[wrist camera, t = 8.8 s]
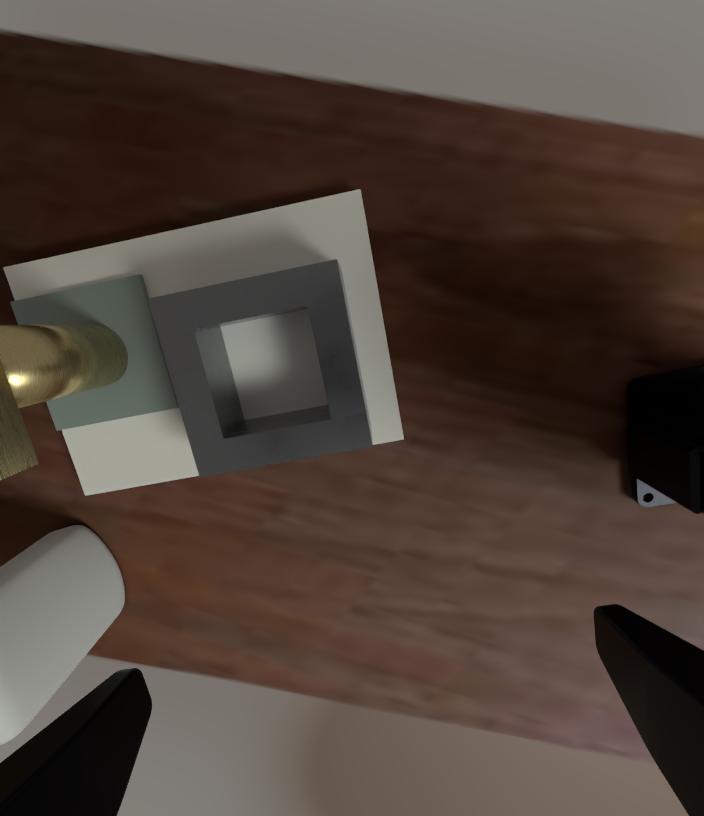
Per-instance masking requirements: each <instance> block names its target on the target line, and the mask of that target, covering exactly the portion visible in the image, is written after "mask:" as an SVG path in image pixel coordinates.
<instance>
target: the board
mask: <svg viewBox="0 0 704 816" xmlns="http://www.w3.org/2000/svg"><path fill="white" fill-rule="evenodd" d="M335 259H337V260H338V263H339V265H340V267H341V270H342V275H343V280H344V286H345V291H346V296H347V302H348V307H349V312H350V317H351V323H352V328H353V333H354V338H355V344H356V349H357V354H358V359H359V365H360V370H361V375H362V380H363V386H364V391H365V396H366V401H367V407H368V412H369V417H370V422H371V429H372V443H373V445H375V444H381V443H386V442H392V441H398V440H403V439H404V437H403V431H402V425H401V419H400V413H399V408H398V402H397V396H396V390H395V385H394V379H393V373H392V367H391V362H390V356H389V350H388V344H387V339H386V333H385V327H384V321H383V316H382V310H381V304H380V298H379V292H378V287H377V281H376V275H375V269H374V264H373V258H372V252H371V246H370V241H369V235H368V229H367V223H366V218H365V212H364V206H363V200H362V195H361V189H358V190H354V191H349V192H345V193H340V194H336V195H331V196H326V197H322V198H317V199H313V200H308V201H304V202H299V203H295V204H290V205H285V206H281V207H276V208H272V209H267V210H263V211H258V212H254V213H249V214H244V215H240V216H235V217H231V218H226V219H222V220H217V221H213V222H208V223H203V224H199V225H194V226H190V227H185V228H181V229H176V230H172V231H167V232H162V233H158V234H153V235H149V236H144V237H140V238H135V239H131V240H126V241H121V242H117V243H112V244H108V245H103V246H99V247H94V248H90V249H85V250H80V251H76V252H71V253H67V254H62V255H58V256H53V257H49V258H44V259H39V260H35V261H30V262H26V263H21V264H17V265H12V266H8V267H3V269H4V272H5V274H6V277H7V280H8V283H9V285H10V288H11V291H12V294H13V297H14V299H15V301H16V300H21V299H26V298H30V297H35V296H40V295H44V294H49V293H54V292H58V291H63V290H68V289H73V288H77V287H82V286H87V285H91V284H96V283H101V282H105V281H110V280H115V279H119V278H124V277H129V276H134V275H138V274H140V275H143V279H144V282H145V285H146V289H147V292H148V296H149V298H153V297H158V296H162V295H167V294H172V293H177V292H181V291H186V290H191V289H196V288H201V287H205V286H210V285H215V284H220V283H225V282H229V281H234V280H239V279H244V278H249V277H253V276H258V275H263V274H268V273H273V272H277V271H282V270H287V269H292V268H296V267H301V266H306V265H311V264H316V263H320V262H325V261H330V260H335ZM221 331H222V335H223V339H224V342H225V346H226V350H227V354H228V358H229V362H230V366H231V369H232V373H233V377H234V381H235V385H236V389H237V393H238V397H239V400H240V404H241V408H242V412H243V416H244V420H248V419H253V418H259V417H264V416H270V415H275V414H280V413H286V412H291V411H297V410H302V409H307V408H313V407H318V406H324V405H328V402H327V397H326V392H325V387H324V383H323V378H322V373H321V368H320V364H319V359H318V354H317V349H316V345H315V340H314V335H313V331H312V326H311V321H310V316H309V312H308V309H305V310H300V311H295V312H290V313H286V314H281V315H276V316H271V317H266V318H261V319H256V320H251V321H246V322H241V323H236V324H231V325H226V326H221ZM62 432H63V435H64V438H65V441H66V444H67V446H68V449H69V452H70V455H71V457H72V460H73V463H74V466H75V469H76V471H77V474H78V477H79V480H80V482H81V485H82V488H83V491H84V494H85V496H87V495H92V494H98V493H104V492H109V491H115V490H121V489H126V488H132V487H138V486H143V485H149V484H154V483H160V482H166V481H171V480H177V479H183V478H188V477H194V476H199V474H198V470H197V467H196V463H195V460H194V457H193V453H192V450H191V446H190V443H189V439H188V436H187V433H186V429H185V426H184V422H183V419H182V415H181V412H180V409H179V408H174V409H169V410H164V411H159V412H153V413H148V414H143V415H137V416H132V417H127V418H122V419H116V420H111V421H106V422H100V423H95V424H90V425H85V426H79V427H74V428H69V429H63V430H62Z"/></svg>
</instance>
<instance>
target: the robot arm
mask: <svg viewBox="0 0 704 816" xmlns="http://www.w3.org/2000/svg"><path fill="white" fill-rule="evenodd" d="M641 384H643V385H644V388H643V390H642V391H641V392H639V391H638V388H639V386H640V385H641ZM627 393H628V414H629V424H628V425H627V444H628V464H629V473H630V474H631V475H632V495H633V499H634V500H635V501H636V502H637V503H638V504H640V505H641V506H644V507H652V506H658V505H664V504H671V503H678V504H680V505H682V506H683V507H685V508H687V509H688V510H690V511H692V512H693V513H696V514H700V513H703V514H704V365H702V366H696V367H691V368H685V369H680V370H674V371H669V372H663V373H658V374H652V375H647V376H641V377H637V378H634V379H633V380H631V381H630V383H629V384H628V388H627ZM647 493H648V496H647V497H646V498H644V499H643V496H644V495H645V494H647ZM594 625H595V639H596V647H597V650H598V653H599V656H600V658H601V660H602V662H603V664H604V666H605V668H606V670H607V672H608V674H609V676H610V678H611V680H612V681H613V683H614V685H615V687H616V689H617V691H618V693H619V695H620V697H621V699H622V701H623V703H624V705H625V707H626V709H627V711H628V712H629V714H630V716H631V718H632V720H633V722H634V724H635V726H636V728H637V730H638V732H639V734H640V736H641V738H642V739H643V741H644V743H645V745H646V747H647V749H648V751H649V752H650V754H651V756H652V757H653V759H654V761H655V762H656V764H657V765H658V767H659V769H660V770H661V772H662V774H663V775H664V777H665V778H666V780H667V781H668V783H669V785H670V786H671V788H672V789H673V791H674V792H675V794H676V796H677V797H678V799H679V800H680V802H681V804H682V805H683V807H684V808H685V810H686V812H687V813H688V814H689V816H704V651H703V650H701V649H700V648H698V647H696V646H694V645H692V644H690V643H689V642H687V641H685V640H683V639H681V638H679V637H678V636H676V635H674V634H672V633H670V632H668V631H667V630H665V629H663V628H661V627H659V626H657V625H656V624H654V623H652V622H650V621H648V620H646V619H645V618H643V617H641V616H639V615H637V614H636V613H634V612H632V611H630V610H628V609H626V608H625V607H623V606H621V605H618V604H612V605H604V606H598V607H596V608H595V610H594ZM151 710H152V700H151V697H150V694H149V691H148V688H147V685H146V683H145V680H144V677H143V674H142V672H141V671H140V670H139V669H136V668H133V669H125V670H120V671H117V672H115V673H114V674H113V675H111V676H110V677H109V678H108V679H106V680H105V681H104V682H103V683H101V684H100V685H99V686H97V687H96V688H95V689H94V690H92V691H91V692H90V693H89V694H88V695H86V696H85V697H84V698H82V699H81V700H80V701H79V702H77V703H76V704H75V705H74V706H72V707H71V708H70V709H68V710H67V711H66V712H65V713H63V714H62V715H61V716H59V717H58V718H57V719H56V720H54V721H53V722H52V723H51V724H49V725H48V726H47V727H46V728H44V729H43V730H42V731H40V732H39V733H38V734H37V735H36V736H34V737H33V738H32V739H30V740H29V741H28V742H26V743H25V744H24V745H23V746H21V747H20V748H19V749H18V750H16V751H15V752H14V753H13V754H11V755H10V756H9V757H7V758H6V759H5V760H4V761H3V762H1V763H0V816H117V813H118V811H119V808H120V805H121V802H122V799H123V797H124V794H125V791H126V788H127V785H128V782H129V779H130V776H131V773H132V770H133V767H134V764H135V761H136V758H137V755H138V751H139V748H140V745H141V743H142V739H143V736H144V733H145V730H146V727H147V724H148V721H149V718H150V715H151Z"/></svg>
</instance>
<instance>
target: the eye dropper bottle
mask: <svg viewBox="0 0 704 816" xmlns="http://www.w3.org/2000/svg"><path fill="white" fill-rule="evenodd" d="M124 603H125V591H124V584H123V579H122V575H121V572H120V569H119V567H118V565H117V562H116V561H115V559H114V557H113V555H112V554H111V552H110V551H109V549H108V548H107V546H106V545H105V544H104V543H103V542H102V540H101V539H100V538H99V537H98V536H97V535H96V534H95V533H94V532H93V531H91V530H90V529H89V528H87V527H85V526H83V525H73V526H70V527H66V528H63V529H59V530H56V531H53V532H50V533H49V534H47V535H46V536H44V537H43V538H41V539H40V540H38V541H37V542H35V543H34V544H33V545H31V546H30V547H28V548H27V549H25V550H24V551H23V552H21V553H20V554H18V555H17V556H15V557H14V558H13V559H11V560H10V561H8V562H7V563H5V564H4V565H3V566H1V567H0V745H1V744H4V743H6V742H8V741H9V740H11V739H12V738H14V737H15V736H17V735H18V734H19V733H20V732H21V731H22V730H23V729H24V728H25V727H26V726H27V725H28V724H29V723H30V722H31V721H32V719H33V718H34V717H35V716H36V715H37V714H38V712H39V711H40V710H41V709H42V708H43V707H44V705H45V704H46V703H47V702H48V700H49V699H50V698H51V697H52V696H53V694H54V693H55V692H56V691H57V690H58V688H59V687H60V686H61V685H62V684H63V682H64V681H65V680H66V679H67V677H68V676H69V675H70V674H71V673H72V671H73V670H74V669H75V668H76V666H77V665H78V664H79V663H80V661H81V660H82V659H83V658H84V657H85V655H86V654H87V653H88V652H89V651H90V649H91V648H92V647H93V646H94V644H95V643H96V642H97V641H98V640H99V638H100V637H101V636H102V635H103V633H104V632H105V631H106V630H107V628H108V627H109V626H110V625H111V624H112V622H113V621H114V620H115V619H116V617H117V616H118V615H119V614H120V612H121V610H122V608H123V606H124Z"/></svg>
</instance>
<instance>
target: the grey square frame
mask: <svg viewBox="0 0 704 816" xmlns="http://www.w3.org/2000/svg"><path fill="white" fill-rule="evenodd" d="M148 303H149V306H150V309H151V313H152V316H153V320H154V323H155V327H156V330H157V333H158V337H159V340H160V344H161V347H162V351H163V354H164V357H165V361H166V364H167V368H168V371H169V374H170V378H171V381H172V385H173V388H174V392H175V395H176V398H177V402H178V405H179V409H180V412H181V415H182V419H183V422H184V426H185V429H186V433H187V436H188V439H189V443H190V446H191V450H192V453H193V457H194V460H195V463H196V467H197V470H198V474H199V477H203V476H209V475H215V474H220V473H226V472H232V471H237V470H243V469H249V468H254V467H260V466H266V465H271V464H277V463H283V462H288V461H294V460H300V459H305V458H311V457H317V456H322V455H328V454H334V453H339V452H345V451H351V450H356V449H362V448H368V447H373V443H372V429H371V422H370V417H369V412H368V407H367V401H366V396H365V391H364V386H363V380H362V375H361V370H360V365H359V359H358V354H357V349H356V344H355V338H354V333H353V328H352V323H351V317H350V312H349V307H348V302H347V296H346V291H345V286H344V280H343V275H342V270H341V267H340V265H339V263H338V260H337V259H335V260H330V261H325V262H320V263H316V264H311V265H306V266H301V267H296V268H292V269H287V270H282V271H277V272H273V273H268V274H263V275H258V276H253V277H249V278H244V279H239V280H234V281H229V282H225V283H220V284H215V285H210V286H205V287H201V288H196V289H191V290H186V291H181V292H177V293H172V294H167V295H162V296H158V297H153V298H148ZM305 309H308V312H309V316H310V321H311V326H312V331H313V335H314V340H315V345H316V349H317V354H318V359H319V364H320V368H321V373H322V378H323V383H324V387H325V392H326V397H327V402H328V405H324V406H318V407H313V408H307V409H302V410H297V411H291V412H286V413H280V414H275V415H270V416H264V417H259V418H253V419H248V420H244V416H243V412H242V408H241V404H240V400H239V397H238V393H237V389H236V385H235V381H234V377H233V373H232V369H231V366H230V362H229V358H228V354H227V350H226V346H225V342H224V339H223V335H222V331H221V326H226V325H231V324H236V323H241V322H246V321H251V320H256V319H261V318H266V317H271V316H276V315H281V314H286V313H290V312H295V311H300V310H305Z"/></svg>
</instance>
